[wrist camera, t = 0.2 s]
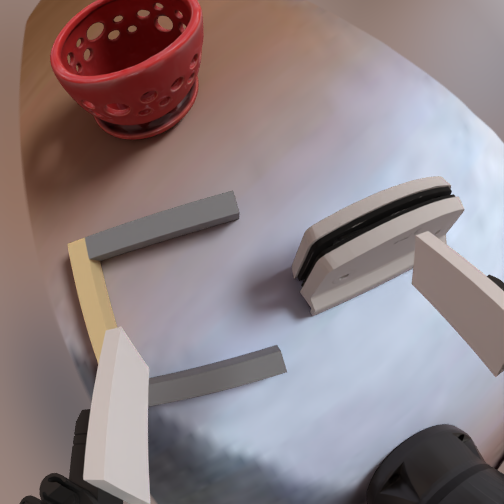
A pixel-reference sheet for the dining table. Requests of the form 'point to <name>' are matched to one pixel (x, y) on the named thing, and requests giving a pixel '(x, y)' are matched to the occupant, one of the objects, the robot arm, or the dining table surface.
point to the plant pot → (132, 64)
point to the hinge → (371, 240)
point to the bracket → (102, 318)
